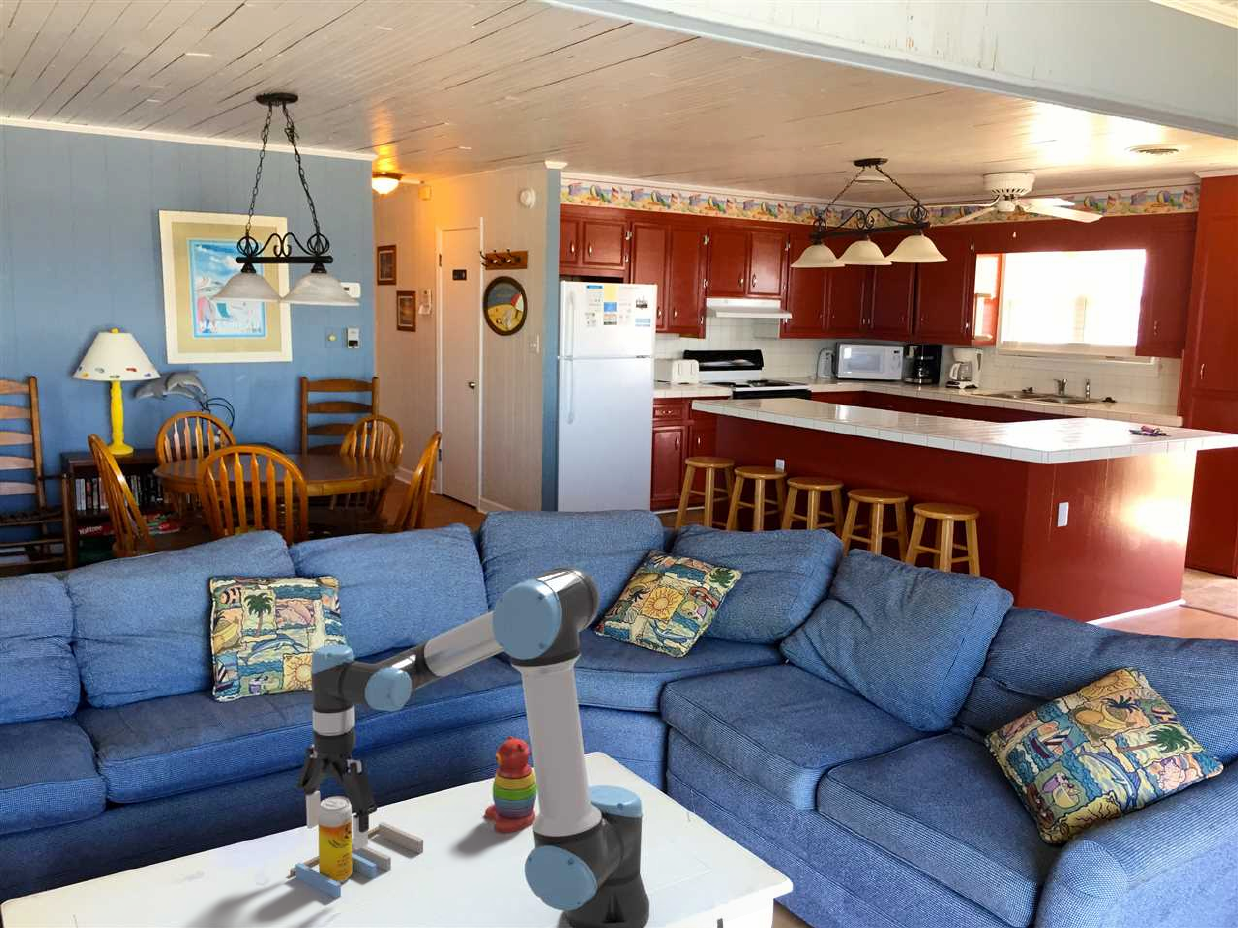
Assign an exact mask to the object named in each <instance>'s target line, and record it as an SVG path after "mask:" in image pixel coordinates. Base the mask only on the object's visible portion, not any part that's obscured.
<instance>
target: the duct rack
mask: <svg viewBox="0 0 1238 928" xmlns="http://www.w3.org/2000/svg"><path fill="white" fill-rule="evenodd" d="M377 835H378V836H380V837H382V838H384V839H386V840H388V841H391V842H393V843H395V844H398V845H399V846H402V847H404V848H406V849H408V850H410V851H413V852H414V853H417V854H419V855H420V854H421V853H423V852H424V839H422V838H420V837H417V836H415V835H412V834H411V833H409V832H406V831H405V830H404V831H403V830H401V829H399V828H397V827H394V826H392V825H390V824H388V823H386V822H384V821H382V822H380V823H378V826H376V827H375V828H372V829H370V830H368V840H369V839H371V838H373V837H375V836H377ZM391 859H392V858H391V856H389V855H387V854H384V853H383V852H381V851H378V850H376V849H374V848H372V847H369V846H368V845H366V846H364V847H362V848H360V849H358V850H355V849H354V839H353V838H352V866H353V871H355V872H357V873H359V874H361V875H362V876H363V875H364V876H365V877H367V878H369V879H371V880H374V879H376V878H377V873H378V871H377V868H379V869H381V870H383V871H385V872H389V871H391V870H392V865H391V864H392V862H391ZM317 865H319V855H318V856H315V857H314V858H311V859H310V860H306V861H305V862H304V863H301V862H298V863H296V864H295V865H294V867H292V868H291V869H290V875H291V876H292V877H295V878H296V879H298V880H300V881H301V882H304V883H306V884H307V885H308V886H309V885H310V886H311V887H313V888H315V889H317V890H319V891H321V892H322V893H324V894H326V895H329V896H330V897H332V898H334V899H335V900H337V899H339V898H341V896H342V893H341V891H342V888H341V886H342V883H338V882H336V881H334V880H332V879H330V878H328V877H326V876H325V875H323V874H321V873H319V871H317V870H315V869H313V868H314V867H315V866H317Z"/></svg>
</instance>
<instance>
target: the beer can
mask: <svg viewBox="0 0 1238 928" xmlns="http://www.w3.org/2000/svg"><path fill="white" fill-rule="evenodd" d="M318 812H319V825H318V856H319V864H318V866H319V867H318V868H319V871H318V872H319V873H321V874H323V875H325V876H326V877H328V878H330V879H332V880H334V881H336V882H338V883H340V884H343V883H345V882H347V881H348V880H349V879H350V877H351V876H352V874H353V871H354V870H353V866H352V839H353V807H352V805H351V803H350V801H349V799H348V797H347V796H346V797H345V796H329V797H328V798H325V799H324V800H322V801H321V805H320V807H319V810H318Z"/></svg>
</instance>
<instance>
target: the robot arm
mask: <svg viewBox="0 0 1238 928" xmlns="http://www.w3.org/2000/svg"><path fill="white" fill-rule="evenodd" d="M599 607H600V593H599V589H598V587H597V585H596V583H595V581H594V579H593V578H592V577H590V575H589V574H587V573H586V572H585V571H583V570H582V569H579V568H577V567H573V566H560V567H556V568H553V569H551V570H549V571H546V572H544V573H542V574H538V575H536V576H533V577H531V578H529V579H523V580H521V581H519V582H517V583H516V584H514V585H513V586H511V587H510V588H508V589H507V590H506V591H504V592H503V593H502V594H501V596H499V599H498V600H497V601H496V604H495V606H494V609H493V610H491V611H489V612H486V613H484V614H482V615H479V616H478V617H476V618H473V619H472V620H470V621H468V622H465V623H463V624H461V625H459V626H457V627H456V626H455V627H454V628H452V629H450V630H447V631H446V632H444V633H441V634H439V635H437V636H435V637H433V638H431V639H428V640H427V641H424V642H422V643H419V644H417V645H415V646H413V647H411V648H409V649H407V650H404V651H403V652H400V653H398V654H396V655H393V656H392V657H389V658H387V659H386V658H385V659H384V660H382V661H380V662H378V663H365V662H361V661H358V660H355V655H354V651H353V648H352V647H351V646H348V645H347V644H327V645H322V646H320V647H318V648H316V649H315V650H314V651H313V652H312V655H311V669H310V670H311V671H310V675H311V676H310V677H311V690H312V691H311V692H312V695H311V696H312V729H313V730H314V731H313V734H312V737H313V740H312V741H313V744H312V745H309V746H307V747H306V752H305V753H306V754H305V759H304V762H303V765H302V768H301V771H300V774H299V777H298V779H297V782H296V786H297V788H298V789H302V792H303V795H304V799H305V804H304V805H305V806H304V807H305V808H306V827H307V828H306V829H309V830H310V829H312V828H314V827H316V826H319V812H318V810H319V807H320V805H321V802H322V801H321V791H320V790H318V789H320V788H321V787H320V786H321V784H322V782H323V781H324V779H325V778H326V777H331V778H332V779H334V780H336V782H337V783H338V785H341V787H342V788H343V790H344V792H345V794H346V797H347V798H348V799H349V801H350V803H351V805H352V810H354V813H355V814H352V839H354V849H355V850H358V849H360V848H362V847H364V846H368V845H369V839H368V831H369V829H370V821H369V820H370V816H369V815H371V814H374V813H375V812H377V811H378V807H377V803H376V801H375V798H374V797H375V796H374V795H373V791H372V788H371V786H370V782H369V779H368V776H367V774H366V768H365V761H364V759H363V758H359V759H358V760H355V759H353V755H352V751H353V750H354V748H355V747H356V728H355V727H354V726H355V724H356V723H355V705H358V706H362V707H367V708H371V709H374V710H377V711H387V712H388V711H389V712H396V711H400V710H401V709H403V707H404V706H405V704H406V703H407V702H408V701H410V698H411V695H412V692H414V691H416V690H418V689H420V688H423V687H424V686H427V685H429V684H431V683H434V682H436V681H437V680H440V679H443V678H444V677H446V676H449V675H450V674H453V673H456V672H457V671H460V670H462V669H465V668H467V667H470V666H471V665H475V664H476V663H478V662H481V661H483V660H486V659H488V658H490V657H493V656H495V655H498V654H500V653H502V652H505V654H507V655H508V656H509V660H510V665H511V666H512V667H513V668H514V669H515V670H517V671H519V673H520V674H521V679H522V688H523V693H524V695H523V696H524V703H525V710H526V717H527V725H528V733H529V739H530V747H531V754H532V761H533V763H532V764H533V772H534V776H535V781H536V787H537V794H536V795H537V801H538V809H539V813H538V814H537V815H536V816H535V819H534V821H533V823H532V824H531V825H532V826H531V828H532V834H533V842H534V848H533V849H532V850H531V851H530V852H529V854H528V856H527V858H526V860H525V864H524V874H525V875H524V876H525V879H526V882H527V884H528V887H529V888H530V890H531V892H532V893H533V894H534V895H535V896H536V898H537V897H538V898H539V899H540V900H541V901H542V902H543V904H545V905H546V906H549V907H550V908H552V909H555V910H560V911H564V913H565V918H566V921H567V922H568V923H569V925H570V926H571V927H573V928H643V927H644V926H645V925H646V924H647V922H648V920H649V917H650V902H649V901H650V900H649V897H648V895H647V893H646V888H645V886H644V882H643V878H642V875H641V864H642V863H641V862H642V860H641V859H642V839H643V838H642V837H643V834H642V833H643V832H642V831H643V817H644V813H643V803H642V799H641V797H640V796H639V795H638V794H637V793H635V792H634V791H632V790H630V789H628V788H625V787H622V786H617V785H609V784H608V785H607V784H603V785H601V784H599V785H598V784H597V785H591V786H589V780H588V778H589V777H588V771H587V764H586V763H587V762H586V756H585V747H584V741H583V733H582V732H583V731H582V726H581V717H580V709H579V702H578V701H579V700H578V693H577V692H578V691H577V686H576V678H575V667H574V665H575V663H576V662H577V661H578V659H580V657H581V655H582V652H581V643H580V636H579V633H580V632H582V631H584V630H585V629H587V627H589V626H590V624H592V622H593V621H594V619H595V618H596V617H597V613H598V611H599V609H600V608H599Z"/></svg>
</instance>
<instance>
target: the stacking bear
mask: <svg viewBox="0 0 1238 928" xmlns="http://www.w3.org/2000/svg"><path fill="white" fill-rule="evenodd" d="M530 751H531V750H530V747H529V745H528V743H526V741H524V740H523V739H519V738H515V737H514V736H511V735H510V736H508V737H507V740H506V741H504V742H503V743H501V745H500V746H499V748H498V749H497V751H496V753H495V761H496V763H497V764H498V765H499V766H498V767H497V769H496V772H495V775H494V780H493V784H492V798H493V802H494V803H493V804H492V805H489V806H488V807H486V809H485V811H484V815H485V818H487V819H490V820H491V821H493V822H494V827H493V828H494V831H495V832H496V833H501V834H509V833H514V832H517V831H521V830H523V829H525V828H527V827H529V826H530V825H532V823H533V821H534V819H535V818H536V812H535V810H534V808H535V803H536V799H537V795H538V794H537V787H536V779H535V772H534V769H532V767H531V765H529V764H528V763H529V760H530V753H531V752H530Z"/></svg>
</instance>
